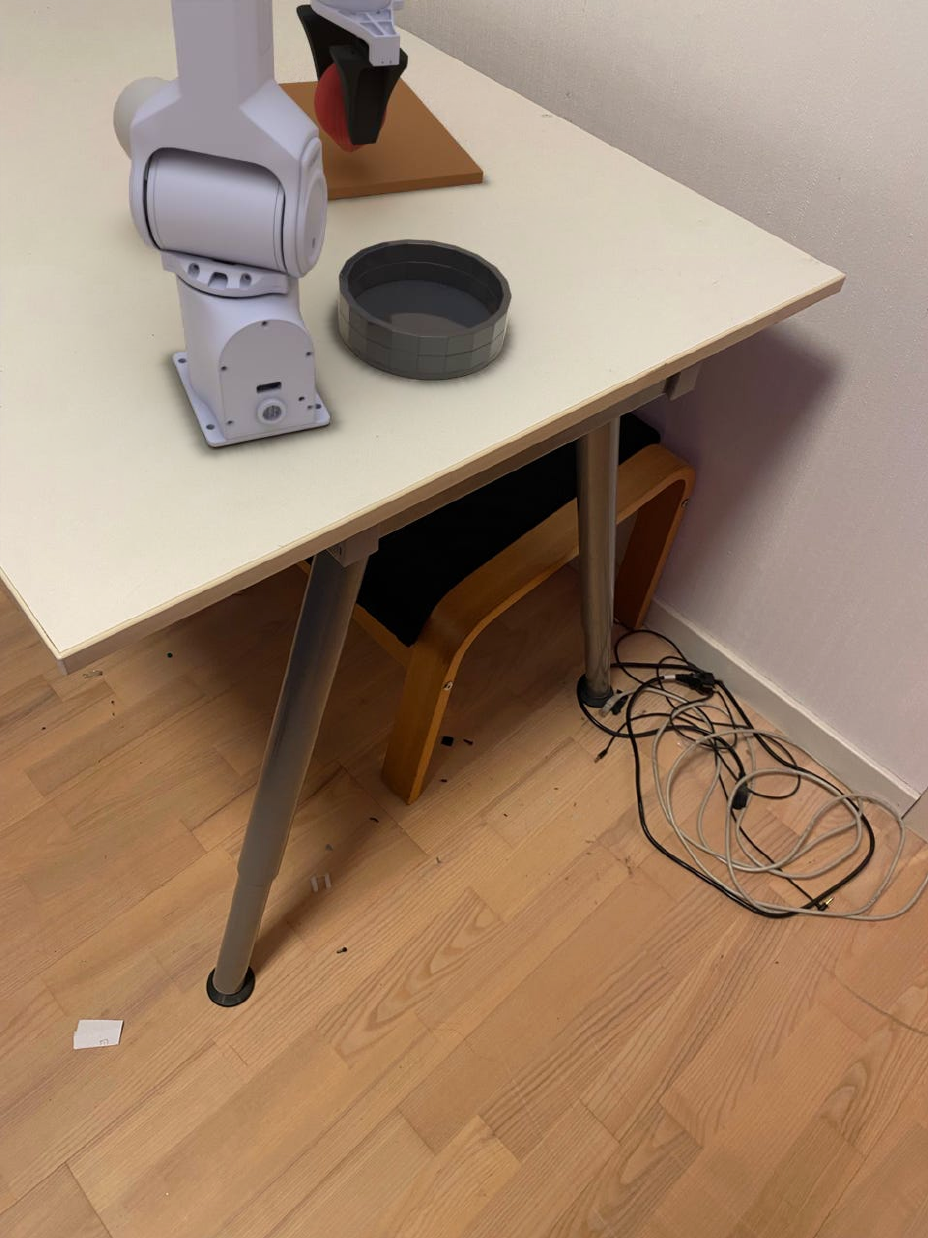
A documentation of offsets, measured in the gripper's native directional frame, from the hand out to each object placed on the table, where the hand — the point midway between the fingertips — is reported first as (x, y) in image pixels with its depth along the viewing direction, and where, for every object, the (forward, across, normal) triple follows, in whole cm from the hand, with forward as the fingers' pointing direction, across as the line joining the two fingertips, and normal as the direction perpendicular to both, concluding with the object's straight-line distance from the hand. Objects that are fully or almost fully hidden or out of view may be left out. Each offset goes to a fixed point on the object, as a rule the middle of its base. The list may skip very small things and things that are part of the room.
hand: (349, 124), depth 76 cm
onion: (+2, 0, 0) cm, 2 cm away
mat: (+5, +8, -4) cm, 10 cm away
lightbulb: (+5, -4, +16) cm, 17 cm away
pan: (+5, -21, +2) cm, 22 cm away
